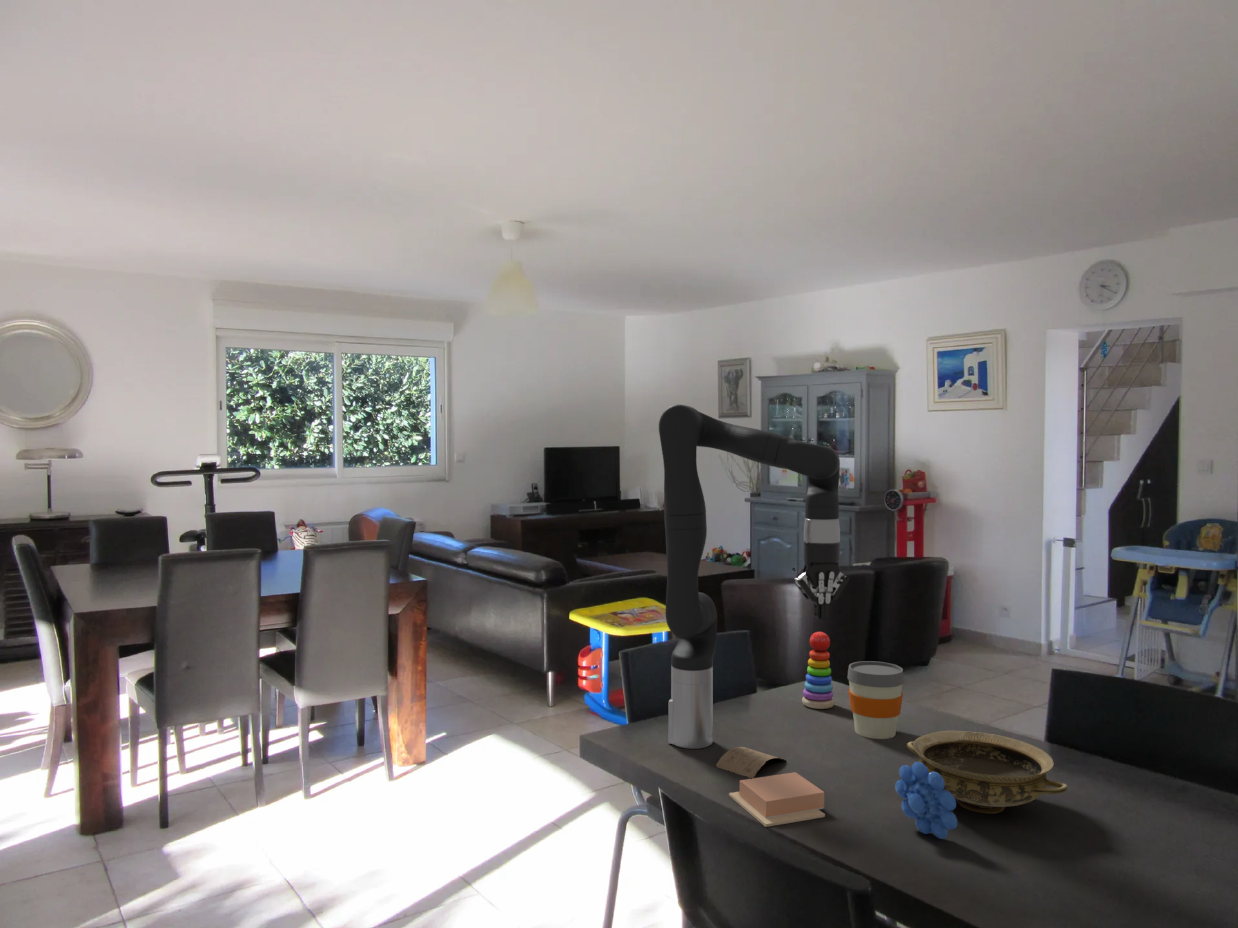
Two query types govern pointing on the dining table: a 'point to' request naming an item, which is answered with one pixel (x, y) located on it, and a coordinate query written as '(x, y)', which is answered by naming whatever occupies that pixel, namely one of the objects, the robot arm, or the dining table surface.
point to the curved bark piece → (744, 761)
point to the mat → (777, 819)
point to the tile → (781, 794)
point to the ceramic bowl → (986, 768)
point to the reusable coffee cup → (875, 697)
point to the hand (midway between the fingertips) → (821, 620)
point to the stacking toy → (818, 674)
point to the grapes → (926, 800)
